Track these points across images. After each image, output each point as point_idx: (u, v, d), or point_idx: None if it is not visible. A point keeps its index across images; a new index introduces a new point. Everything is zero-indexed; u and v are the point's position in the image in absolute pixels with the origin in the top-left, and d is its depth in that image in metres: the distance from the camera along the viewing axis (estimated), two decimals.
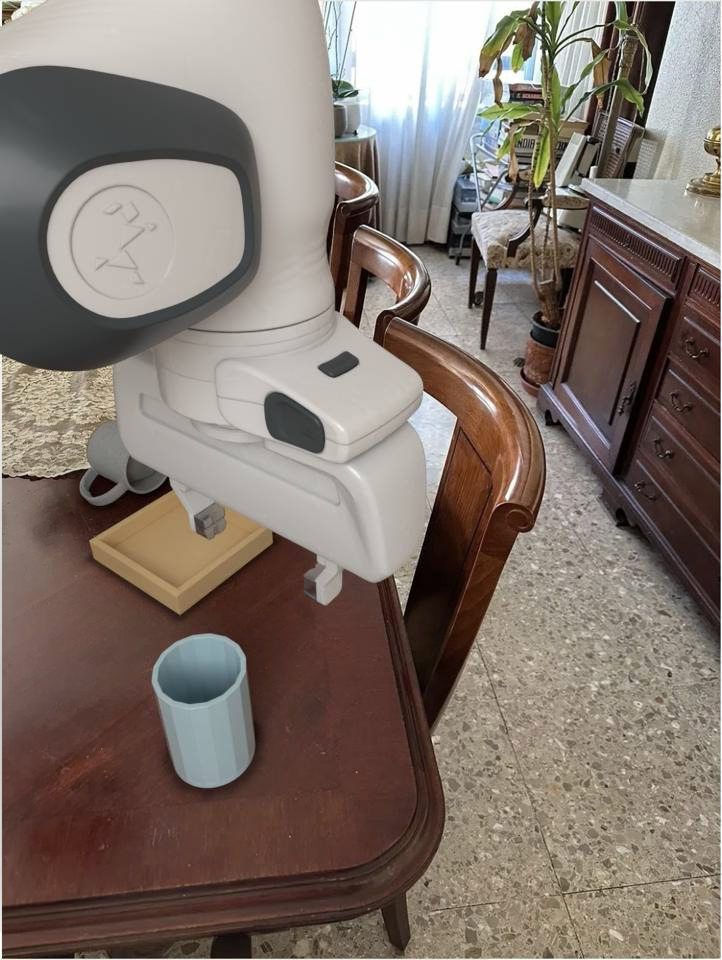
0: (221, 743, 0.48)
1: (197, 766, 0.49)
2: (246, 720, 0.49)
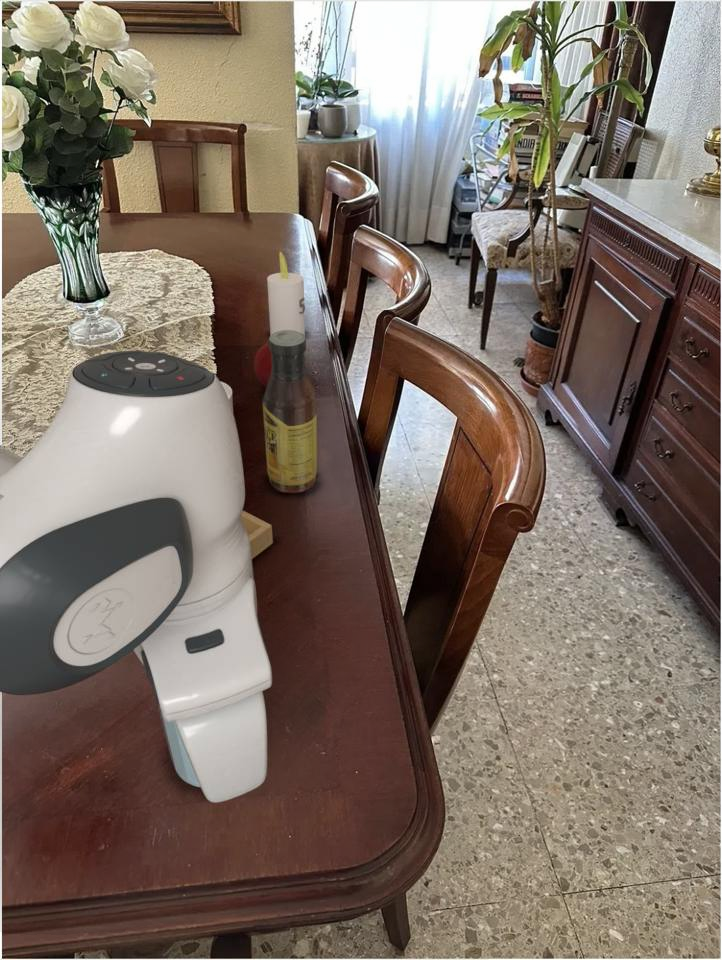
0: None
1: None
2: None
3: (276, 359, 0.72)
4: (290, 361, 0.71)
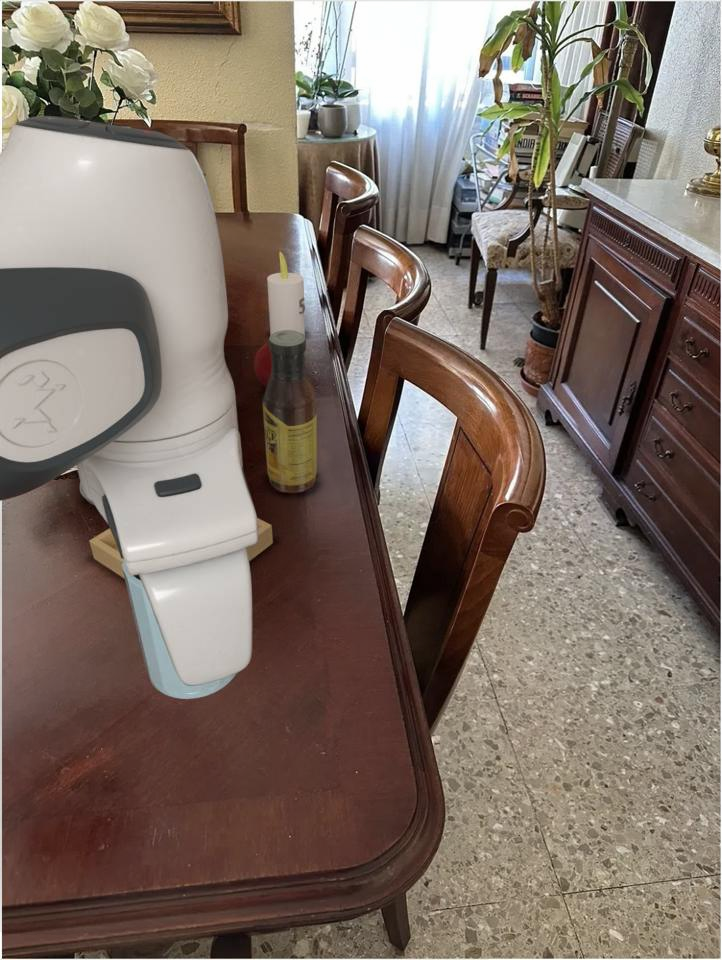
0: None
1: (174, 670, 0.43)
2: None
3: (276, 359, 0.72)
4: (290, 361, 0.71)
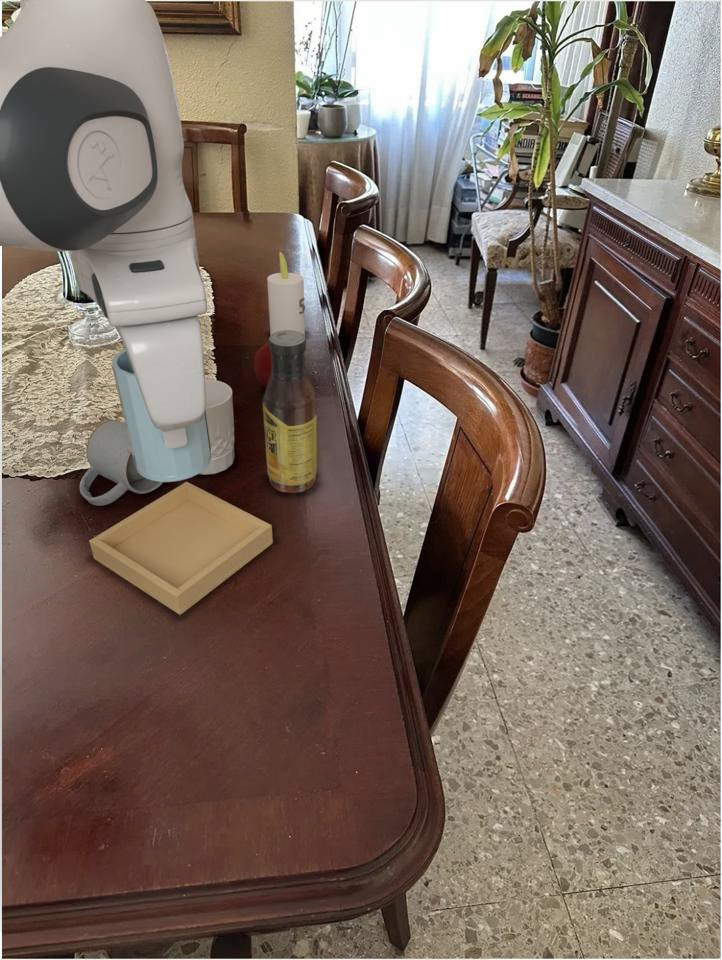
0: None
1: (155, 453, 0.55)
2: None
3: (276, 359, 0.72)
4: (290, 361, 0.71)
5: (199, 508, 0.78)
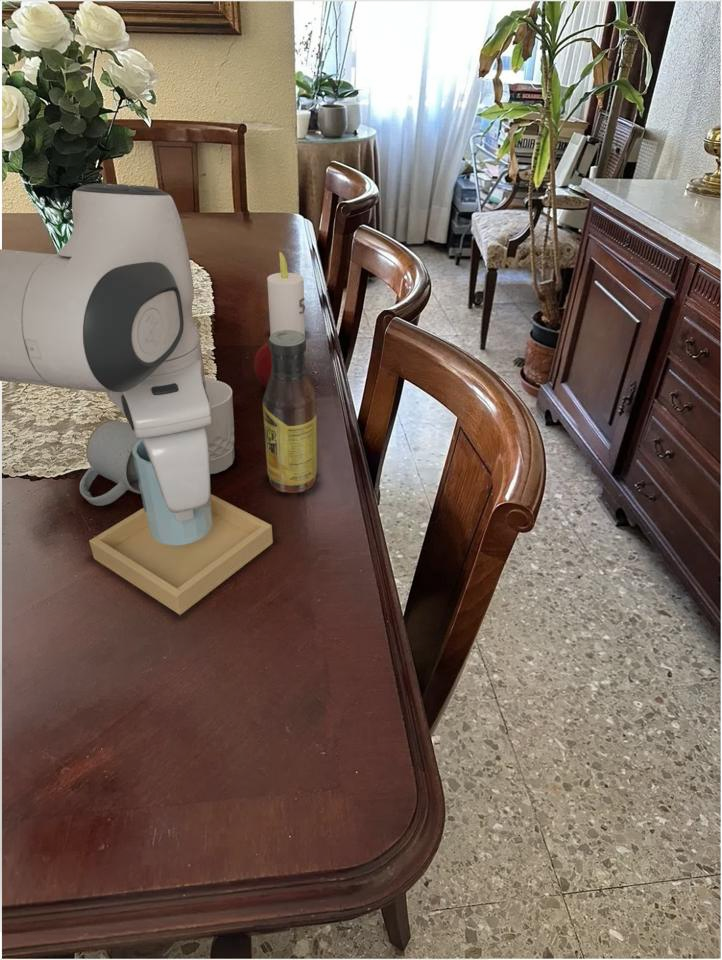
0: None
1: (166, 523, 0.66)
2: None
3: (276, 359, 0.72)
4: (290, 361, 0.71)
5: None
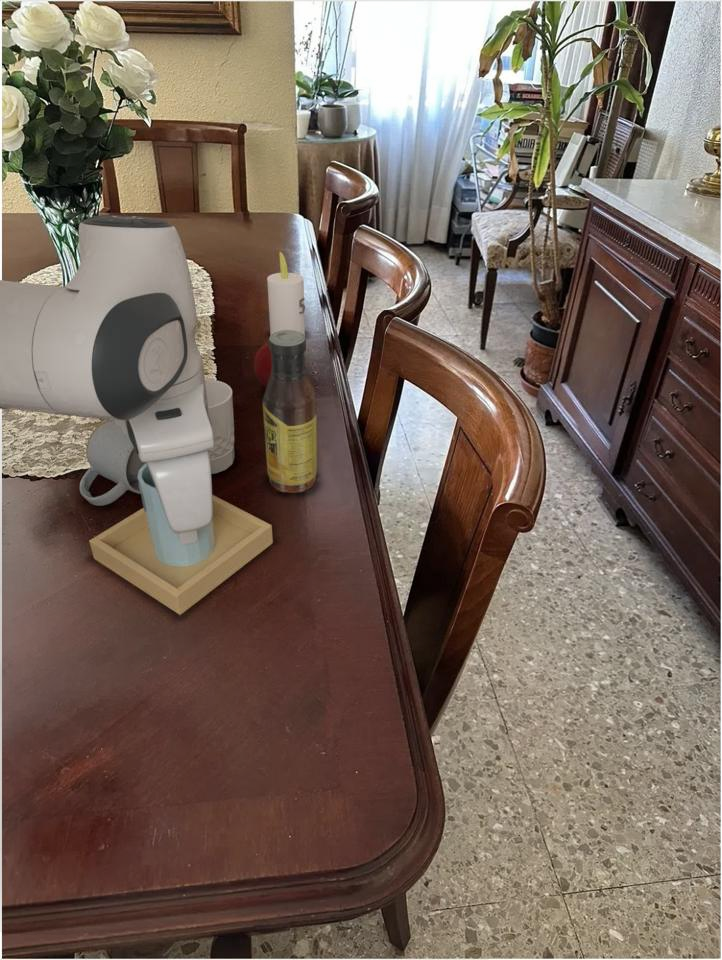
0: None
1: (170, 545, 0.68)
2: None
3: (276, 359, 0.72)
4: (290, 361, 0.71)
5: None
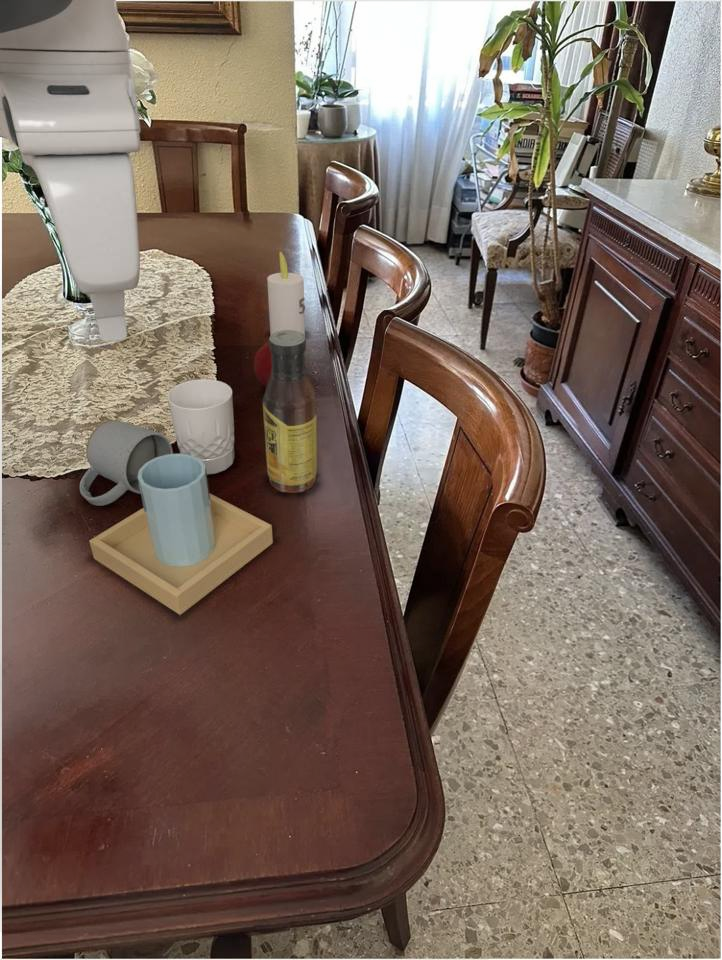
0: (187, 525, 0.67)
1: (170, 545, 0.68)
2: (206, 514, 0.69)
3: (276, 359, 0.72)
4: (290, 361, 0.71)
5: None
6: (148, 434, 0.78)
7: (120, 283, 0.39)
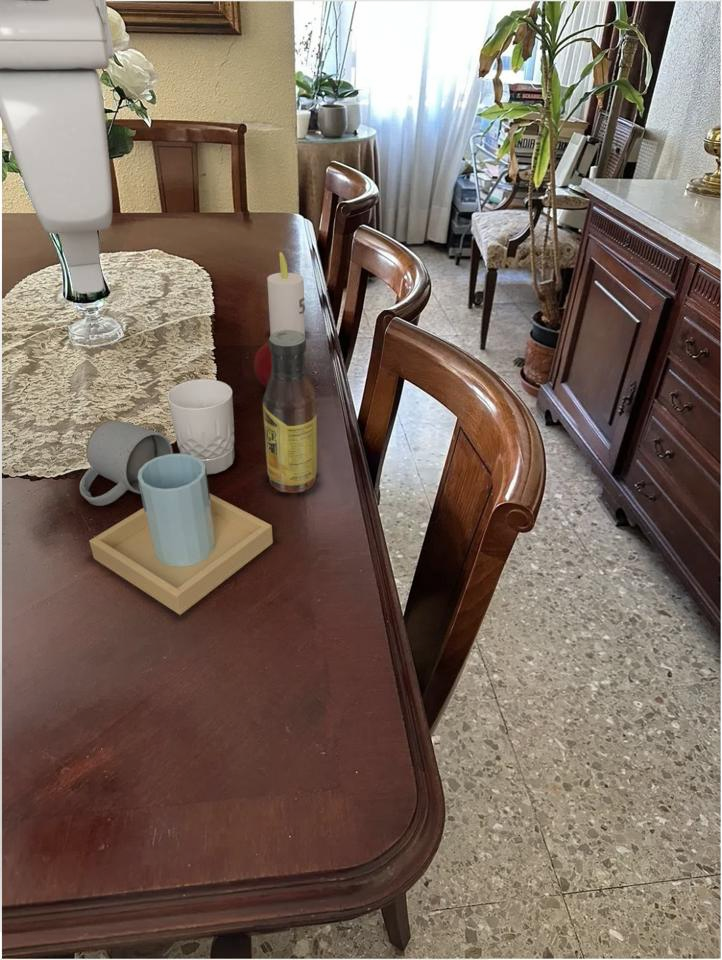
0: (187, 525, 0.67)
1: (170, 545, 0.68)
2: (206, 514, 0.69)
3: (276, 359, 0.72)
4: (290, 361, 0.71)
5: None
6: (148, 434, 0.78)
7: (90, 221, 0.35)
